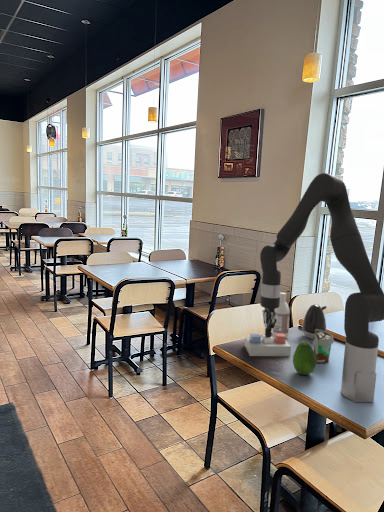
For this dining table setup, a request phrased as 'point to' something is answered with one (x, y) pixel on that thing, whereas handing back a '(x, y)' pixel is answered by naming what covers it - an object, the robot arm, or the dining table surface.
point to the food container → (322, 346)
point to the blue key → (255, 338)
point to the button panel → (267, 348)
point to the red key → (279, 338)
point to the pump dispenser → (314, 321)
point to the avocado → (304, 358)
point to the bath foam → (282, 317)
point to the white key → (267, 339)
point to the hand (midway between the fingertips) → (267, 336)
